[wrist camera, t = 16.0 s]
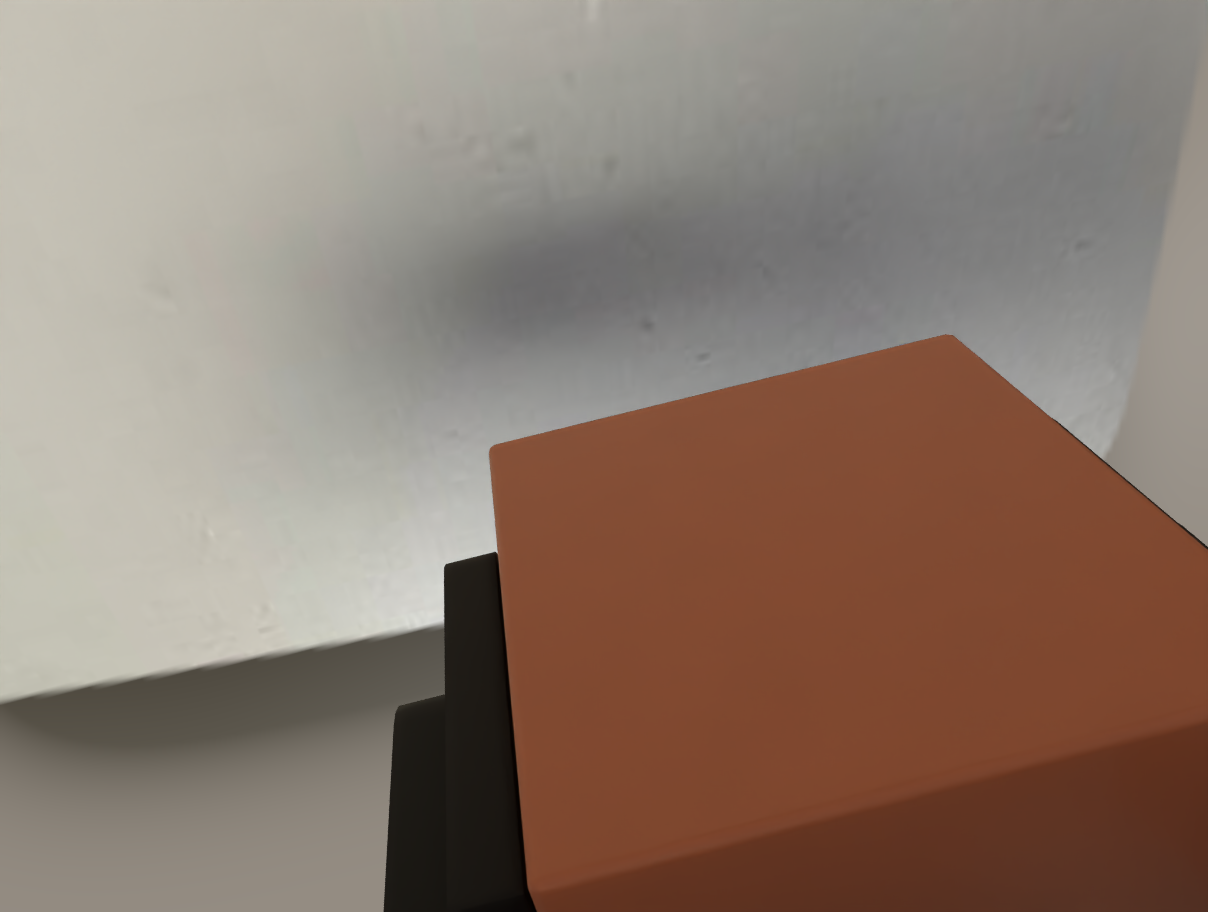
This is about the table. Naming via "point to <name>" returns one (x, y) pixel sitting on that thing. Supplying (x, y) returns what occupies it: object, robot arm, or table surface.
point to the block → (851, 654)
